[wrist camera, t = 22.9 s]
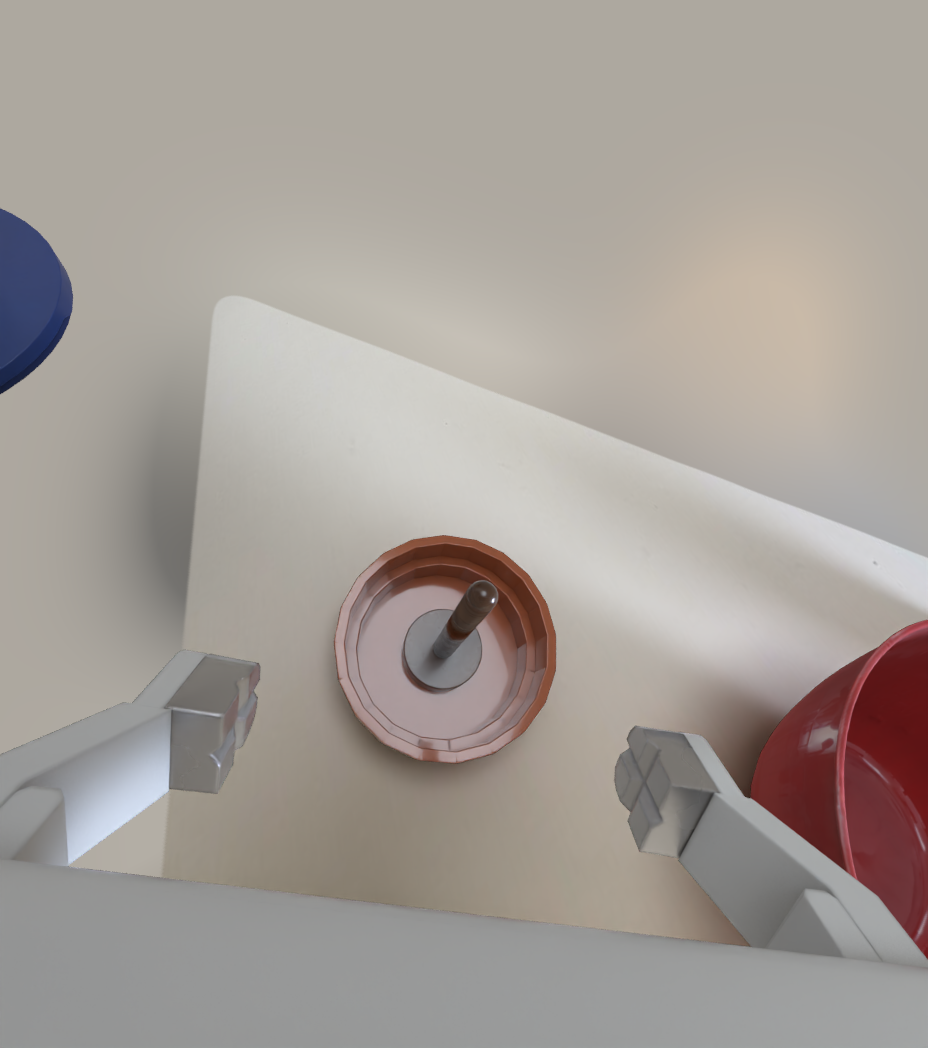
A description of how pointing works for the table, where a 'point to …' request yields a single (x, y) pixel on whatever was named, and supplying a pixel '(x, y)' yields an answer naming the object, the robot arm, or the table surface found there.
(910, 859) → the mixing bowl
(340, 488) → the table surface
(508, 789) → the table surface
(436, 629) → the masher
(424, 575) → the bowl
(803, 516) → the table surface
